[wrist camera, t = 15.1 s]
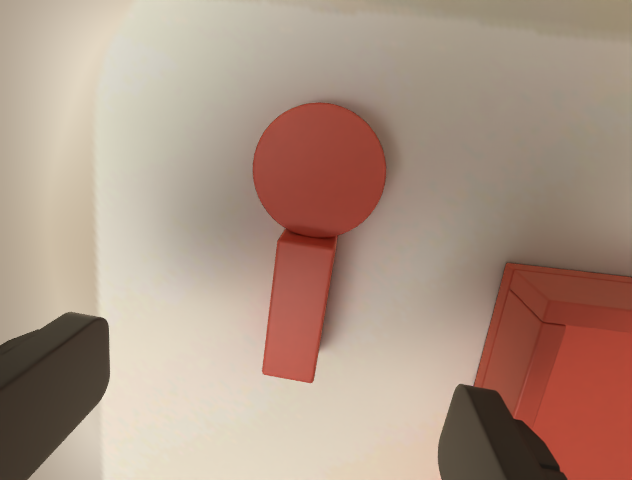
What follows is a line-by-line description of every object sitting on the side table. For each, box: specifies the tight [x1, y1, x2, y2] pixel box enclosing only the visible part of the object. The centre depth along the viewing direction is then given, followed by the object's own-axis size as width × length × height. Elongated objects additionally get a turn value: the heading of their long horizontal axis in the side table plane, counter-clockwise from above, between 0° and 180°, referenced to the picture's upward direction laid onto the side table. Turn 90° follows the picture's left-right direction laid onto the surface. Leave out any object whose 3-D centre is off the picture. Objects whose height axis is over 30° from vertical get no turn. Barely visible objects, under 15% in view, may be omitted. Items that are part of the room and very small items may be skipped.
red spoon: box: [253, 103, 386, 383], centre depth 11 cm, size 8×4×2 cm, turn 172°
